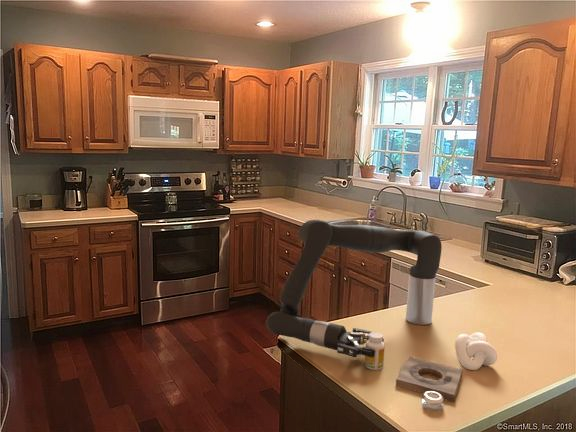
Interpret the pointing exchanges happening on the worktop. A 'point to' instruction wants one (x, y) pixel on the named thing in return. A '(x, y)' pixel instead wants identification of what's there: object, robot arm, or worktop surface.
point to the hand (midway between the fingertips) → (379, 347)
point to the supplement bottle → (378, 346)
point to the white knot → (474, 351)
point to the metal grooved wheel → (432, 401)
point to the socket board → (415, 382)
